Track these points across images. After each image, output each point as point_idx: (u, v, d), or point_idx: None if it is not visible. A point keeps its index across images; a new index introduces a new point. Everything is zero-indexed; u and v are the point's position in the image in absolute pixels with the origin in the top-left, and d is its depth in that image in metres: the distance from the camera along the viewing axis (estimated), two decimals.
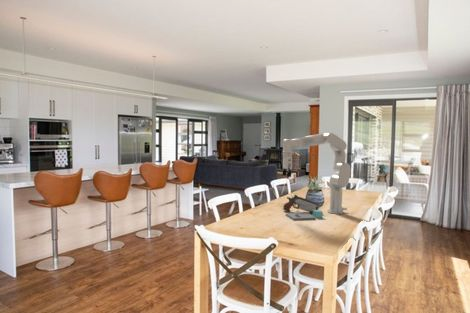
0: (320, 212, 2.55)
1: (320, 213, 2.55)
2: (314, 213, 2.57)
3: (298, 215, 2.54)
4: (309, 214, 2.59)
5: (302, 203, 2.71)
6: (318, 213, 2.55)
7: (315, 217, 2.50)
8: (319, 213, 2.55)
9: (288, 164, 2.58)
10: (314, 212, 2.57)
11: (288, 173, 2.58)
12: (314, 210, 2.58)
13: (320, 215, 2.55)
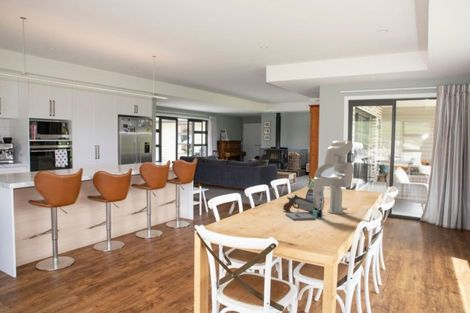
0: None
1: None
2: (314, 213, 2.57)
3: (298, 215, 2.54)
4: (309, 214, 2.59)
5: (302, 203, 2.71)
6: None
7: (315, 217, 2.50)
8: None
9: (319, 204, 2.52)
10: (314, 212, 2.57)
11: (318, 214, 2.54)
12: (314, 210, 2.58)
13: None
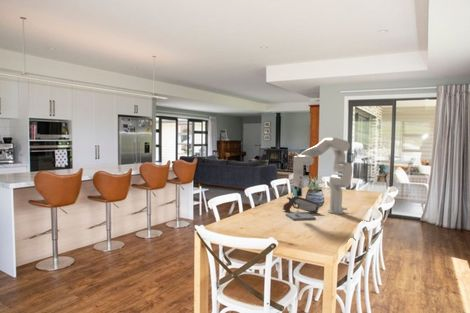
0: None
1: None
2: (294, 192, 2.53)
3: (298, 215, 2.54)
4: (309, 214, 2.59)
5: (302, 203, 2.71)
6: None
7: (315, 217, 2.50)
8: None
9: (299, 182, 2.48)
10: (294, 191, 2.53)
11: (298, 192, 2.50)
12: (294, 189, 2.54)
13: None
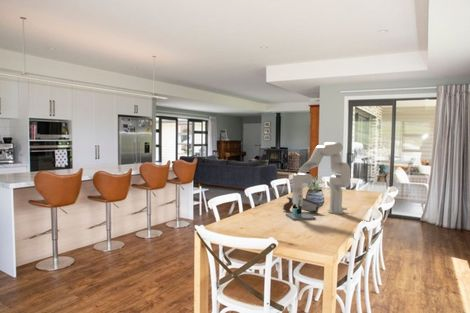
0: None
1: None
2: (293, 211, 2.54)
3: None
4: (309, 214, 2.59)
5: None
6: None
7: (315, 217, 2.50)
8: None
9: (298, 200, 2.49)
10: (293, 210, 2.54)
11: (298, 210, 2.49)
12: (293, 208, 2.55)
13: None
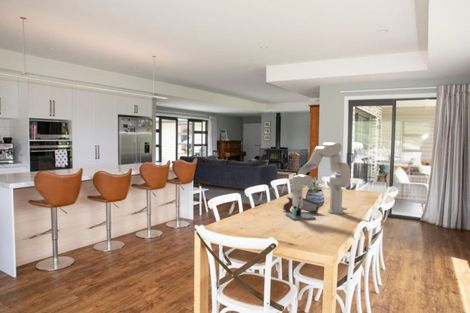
0: None
1: None
2: (293, 211, 2.54)
3: None
4: (309, 214, 2.59)
5: None
6: None
7: (315, 217, 2.50)
8: None
9: (298, 202, 2.49)
10: (293, 210, 2.54)
11: (297, 212, 2.51)
12: (293, 208, 2.55)
13: None
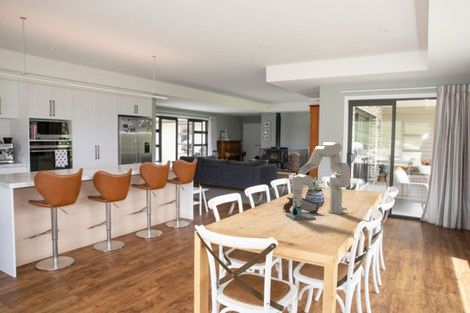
0: None
1: None
2: None
3: None
4: (309, 214, 2.59)
5: (302, 203, 2.71)
6: None
7: (315, 217, 2.50)
8: None
9: (294, 202, 2.50)
10: None
11: (293, 211, 2.50)
12: (297, 208, 2.57)
13: None
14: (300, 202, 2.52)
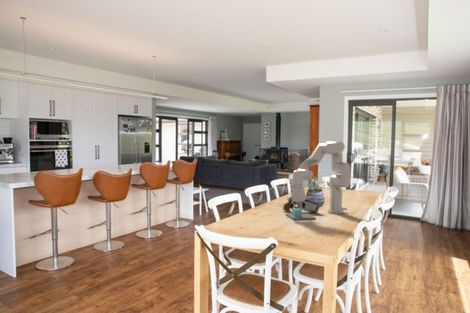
0: None
1: None
2: None
3: None
4: (309, 214, 2.59)
5: None
6: None
7: (315, 217, 2.50)
8: None
9: (291, 195, 2.54)
10: None
11: None
12: (300, 209, 2.54)
13: None
14: (298, 197, 2.51)
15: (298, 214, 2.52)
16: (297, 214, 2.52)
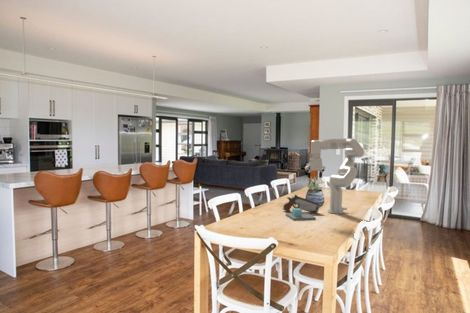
0: None
1: None
2: None
3: None
4: (309, 214, 2.59)
5: (302, 203, 2.71)
6: None
7: (315, 217, 2.50)
8: None
9: (308, 165, 2.60)
10: None
11: (308, 174, 2.60)
12: (300, 209, 2.54)
13: None
14: (316, 166, 2.57)
15: (298, 214, 2.52)
16: (297, 214, 2.52)
